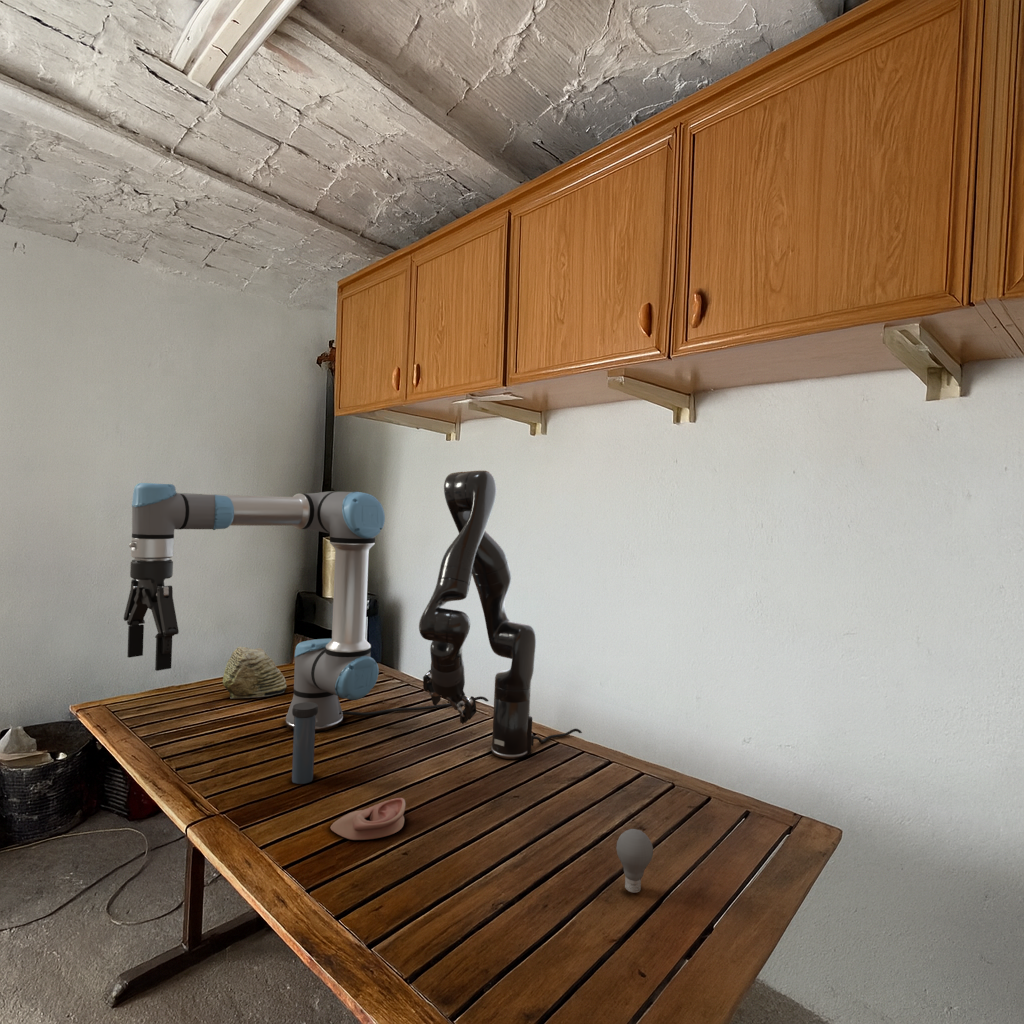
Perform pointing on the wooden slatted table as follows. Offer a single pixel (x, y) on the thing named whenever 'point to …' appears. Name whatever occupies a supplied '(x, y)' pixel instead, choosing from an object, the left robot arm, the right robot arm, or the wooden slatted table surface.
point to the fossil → (252, 674)
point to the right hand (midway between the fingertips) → (450, 711)
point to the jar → (303, 750)
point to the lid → (305, 709)
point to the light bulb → (634, 857)
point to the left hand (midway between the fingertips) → (148, 662)
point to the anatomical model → (372, 821)
